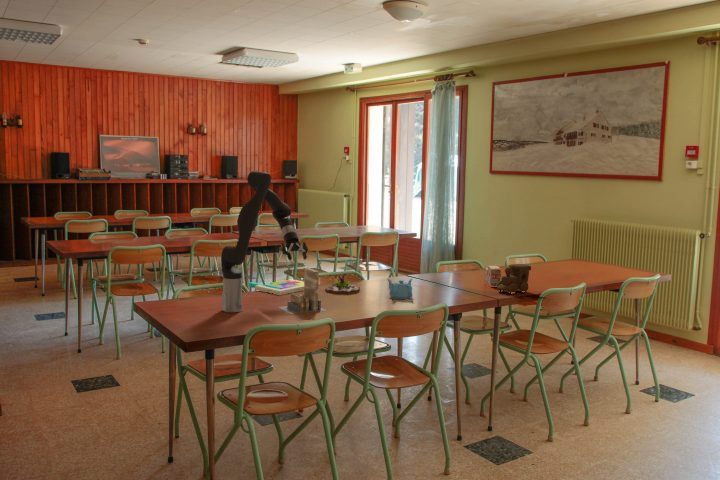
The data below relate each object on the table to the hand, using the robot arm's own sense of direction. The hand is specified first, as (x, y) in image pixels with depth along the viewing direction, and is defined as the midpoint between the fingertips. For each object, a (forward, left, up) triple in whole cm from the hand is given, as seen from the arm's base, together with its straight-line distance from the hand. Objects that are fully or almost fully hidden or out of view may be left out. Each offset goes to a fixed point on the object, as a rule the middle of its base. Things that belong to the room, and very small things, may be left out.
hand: (298, 259), depth 350 cm
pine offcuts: (-6, -17, -23) cm, 29 cm away
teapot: (+61, -7, -25) cm, 66 cm away
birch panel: (0, -17, -23) cm, 28 cm away
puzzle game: (+8, +43, -25) cm, 51 cm away
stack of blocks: (+139, +4, -25) cm, 142 cm away
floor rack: (-5, -17, -24) cm, 30 cm away
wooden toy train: (+135, -21, -25) cm, 139 cm away
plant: (+39, +21, -25) cm, 51 cm away
